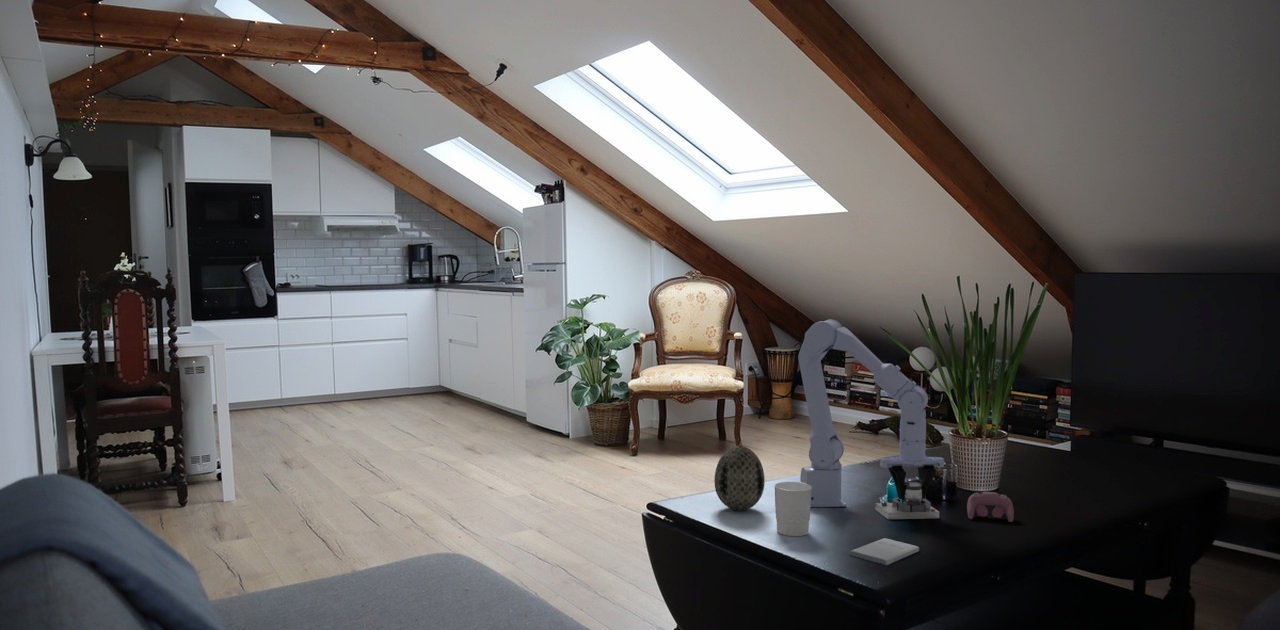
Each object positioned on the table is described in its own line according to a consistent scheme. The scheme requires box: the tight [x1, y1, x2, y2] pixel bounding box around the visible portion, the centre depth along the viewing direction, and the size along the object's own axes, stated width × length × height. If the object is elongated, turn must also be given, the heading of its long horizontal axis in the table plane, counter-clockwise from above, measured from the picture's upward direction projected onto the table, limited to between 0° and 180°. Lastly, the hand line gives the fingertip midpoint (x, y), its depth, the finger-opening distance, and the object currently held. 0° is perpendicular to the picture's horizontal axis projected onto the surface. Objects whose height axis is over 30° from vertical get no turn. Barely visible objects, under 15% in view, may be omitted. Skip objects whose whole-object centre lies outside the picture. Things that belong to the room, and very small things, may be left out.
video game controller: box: [966, 491, 1015, 523], centre depth 203 cm, size 10×5×7 cm, turn 72°
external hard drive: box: [849, 537, 920, 566], centre depth 178 cm, size 2×8×12 cm
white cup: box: [774, 481, 812, 537], centre depth 192 cm, size 8×8×10 cm
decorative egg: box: [714, 445, 766, 512], centre depth 209 cm, size 12×12×15 cm
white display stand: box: [874, 497, 940, 520], centre depth 206 cm, size 12×8×3 cm, turn 95°
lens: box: [902, 477, 923, 505], centre depth 206 cm, size 5×5×6 cm
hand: (911, 497), depth 206 cm, fingers closed on lens, 4 cm apart
